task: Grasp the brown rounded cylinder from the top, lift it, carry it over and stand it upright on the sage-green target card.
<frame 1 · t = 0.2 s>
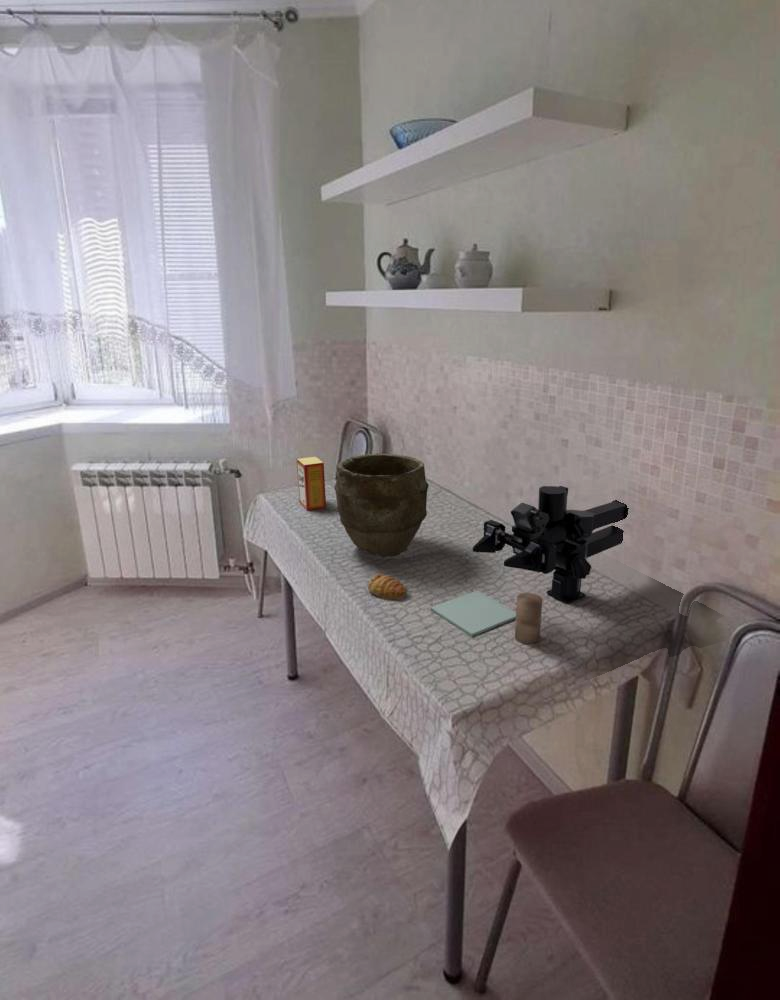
hand: (488, 556, 125), 17 cm above the table, tool horizontal, fingers open, 9 cm apart
target card: (474, 613, 137), on the table
pastry: (387, 593, 147), on the table
brown rounded cylinder: (527, 637, 127), on the table
clay pot: (383, 548, 173), on the table
baking soda box: (312, 505, 209), on the table
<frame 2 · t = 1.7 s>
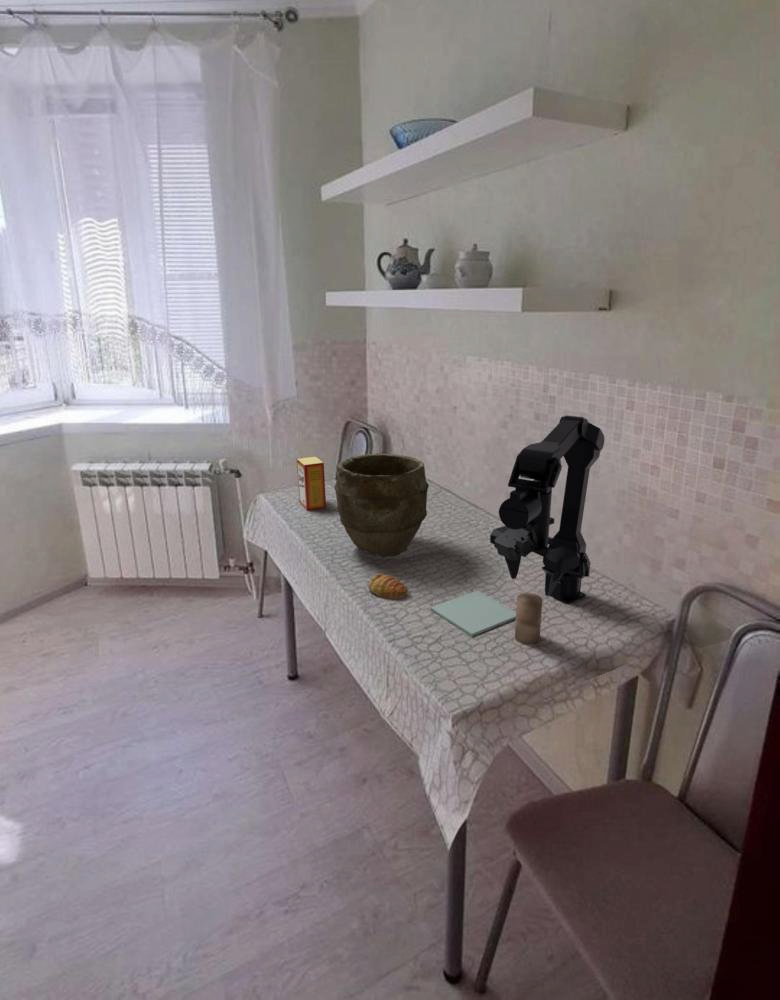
hand: (530, 586, 123), 12 cm above the table, tool pointing down, fingers open, 9 cm apart
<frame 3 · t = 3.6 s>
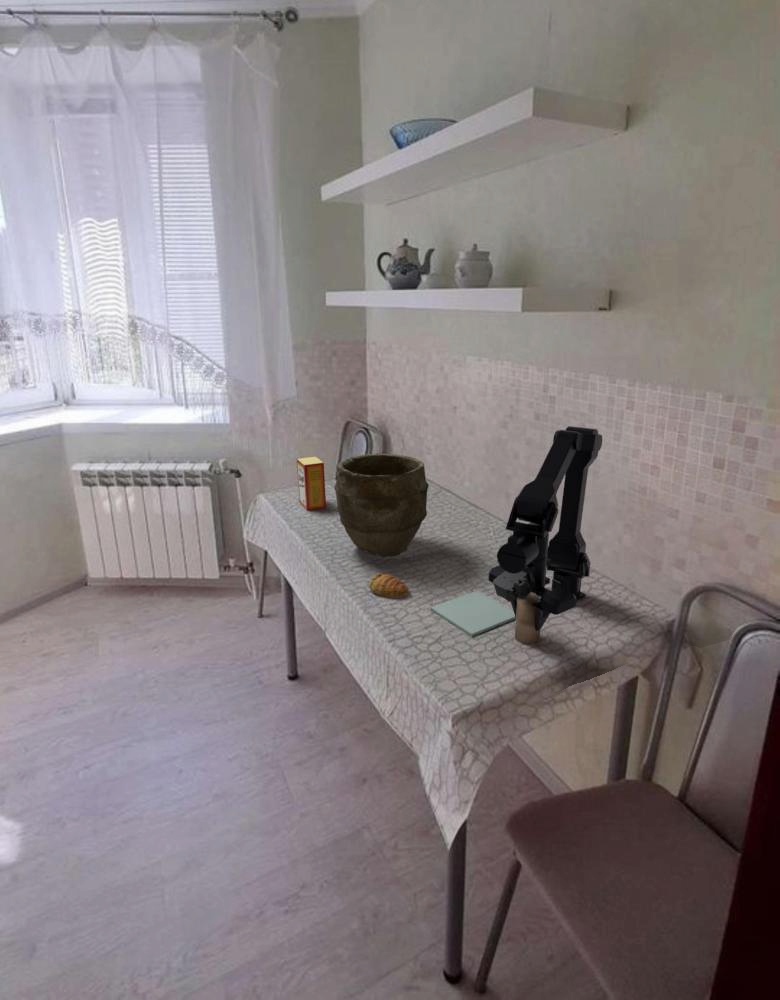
hand: (528, 624, 126), 3 cm above the table, tool pointing down, fingers closed on brown rounded cylinder, 5 cm apart
brown rounded cylinder: (527, 637, 127), on the table, touching gripper
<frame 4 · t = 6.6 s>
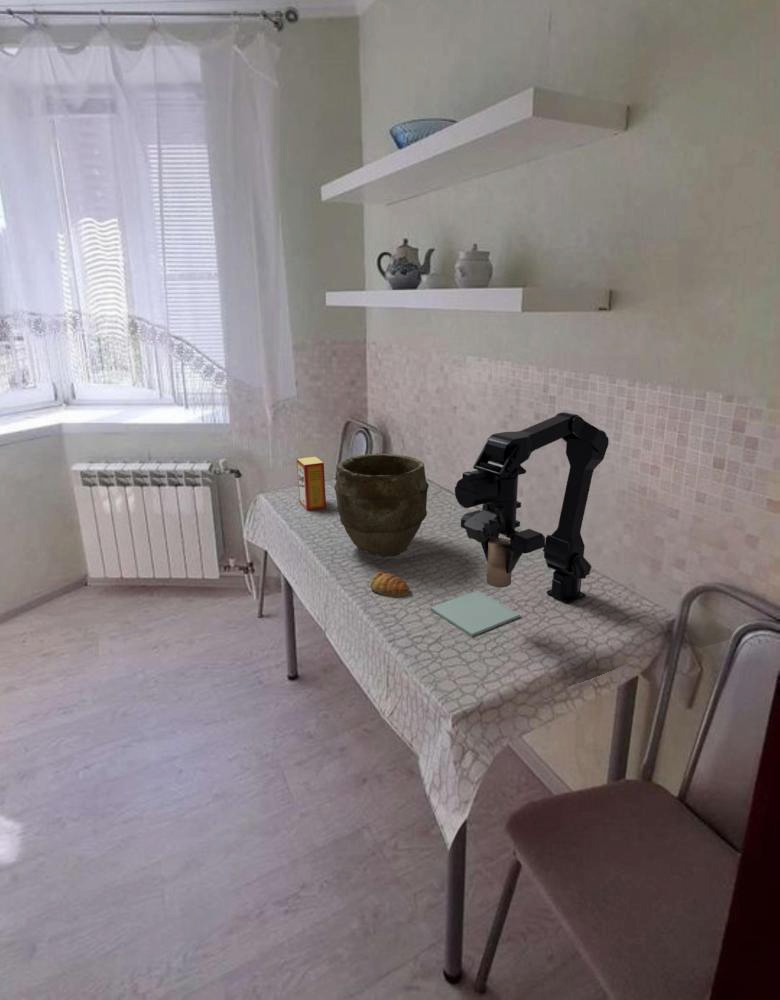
hand: (499, 568, 128), 13 cm above the table, tool pointing down, fingers closed on brown rounded cylinder, 5 cm apart
brown rounded cylinder: (498, 582, 129), point 10 cm above the table, touching gripper
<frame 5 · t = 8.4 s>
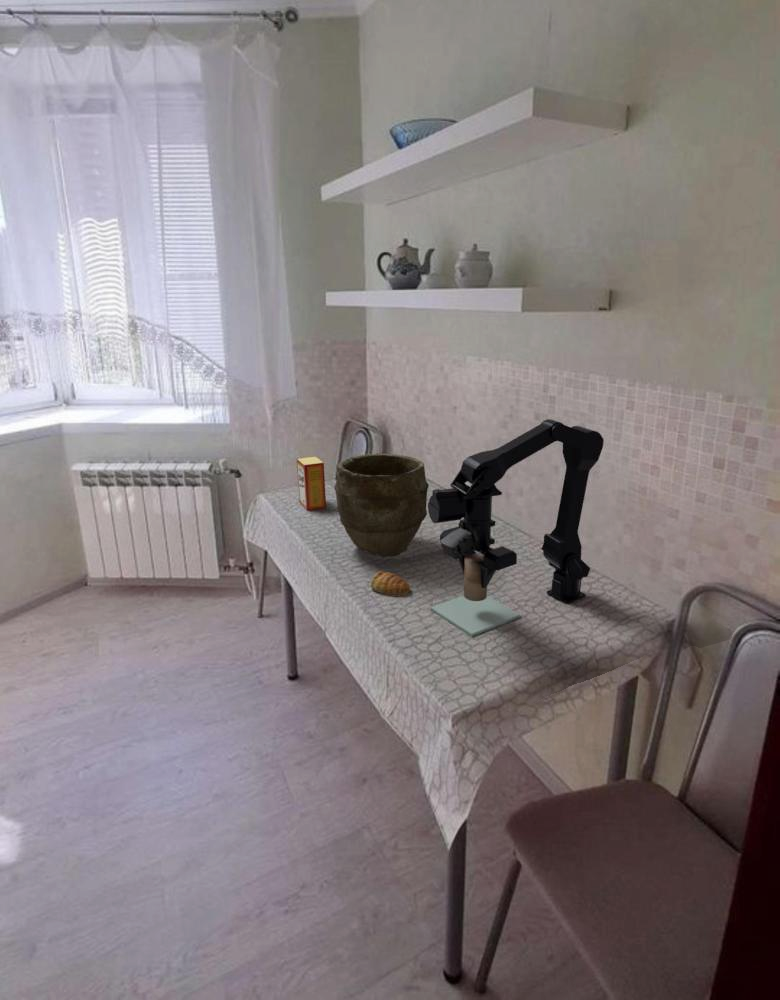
hand: (475, 583, 134), 7 cm above the table, tool pointing down, fingers closed on brown rounded cylinder, 5 cm apart
brown rounded cylinder: (475, 595, 135), point 4 cm above the table, touching gripper
when the fingers open (5 cm above the table, at t = 9.8 s): brown rounded cylinder drops 1 cm, resting on target card.
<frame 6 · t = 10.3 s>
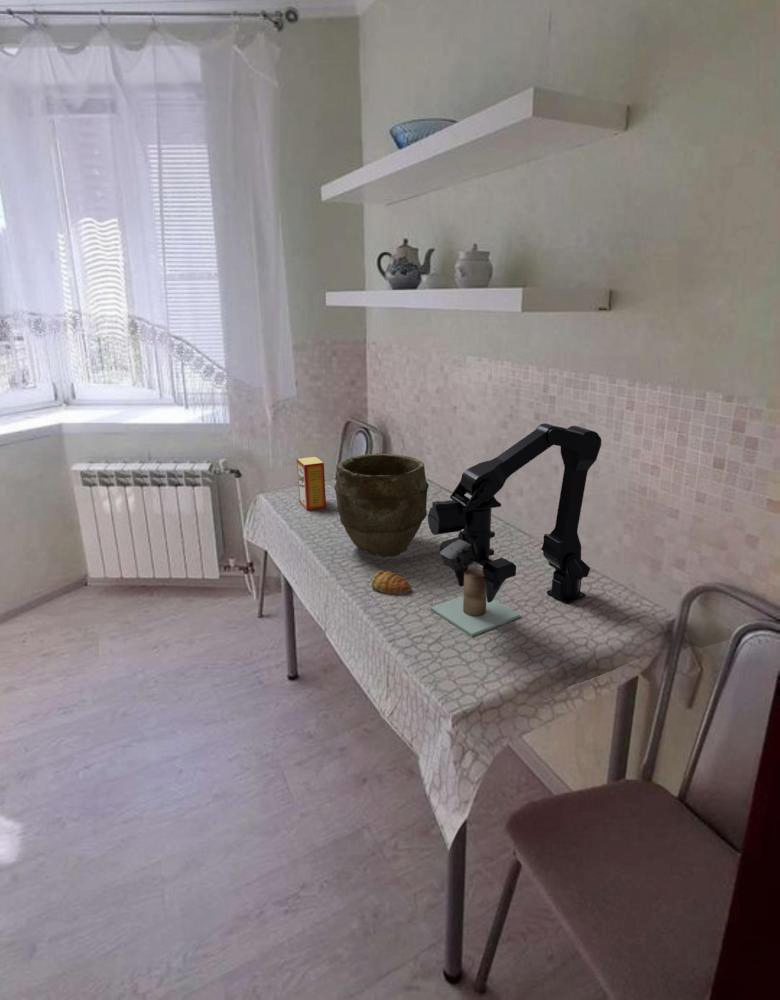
hand: (475, 593, 135), 5 cm above the table, tool pointing down, fingers open, 9 cm apart
brown rounded cylinder: (474, 610, 137), point 1 cm above the table, touching target card
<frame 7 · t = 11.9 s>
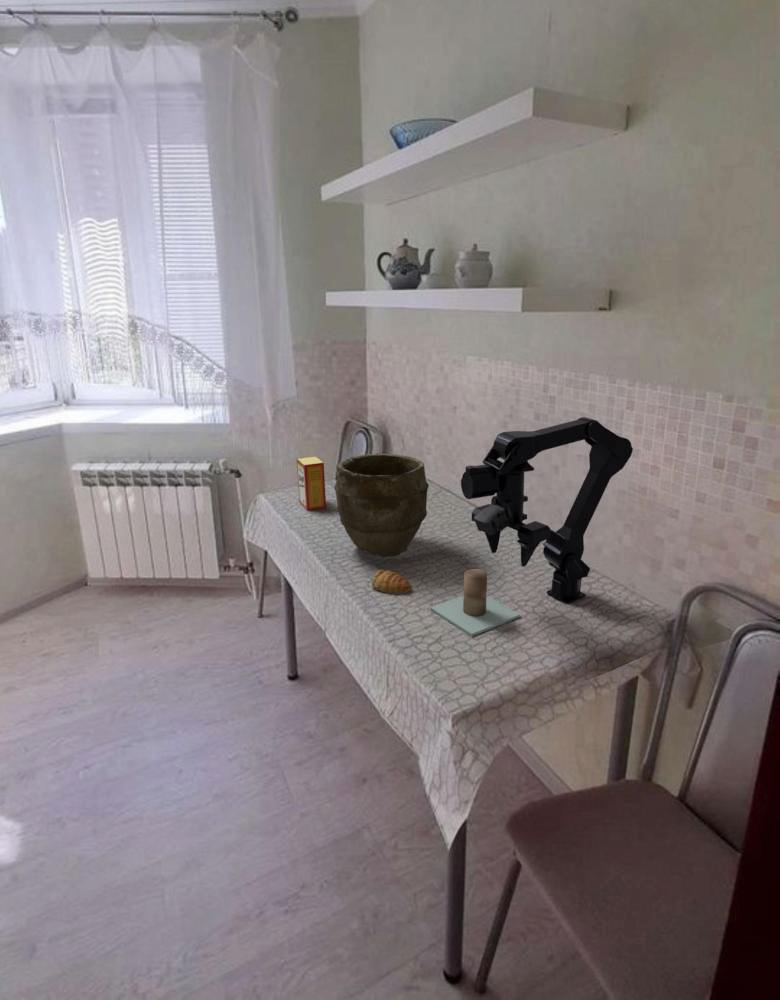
hand: (508, 559, 136), 12 cm above the table, tool pointing down, fingers open, 9 cm apart
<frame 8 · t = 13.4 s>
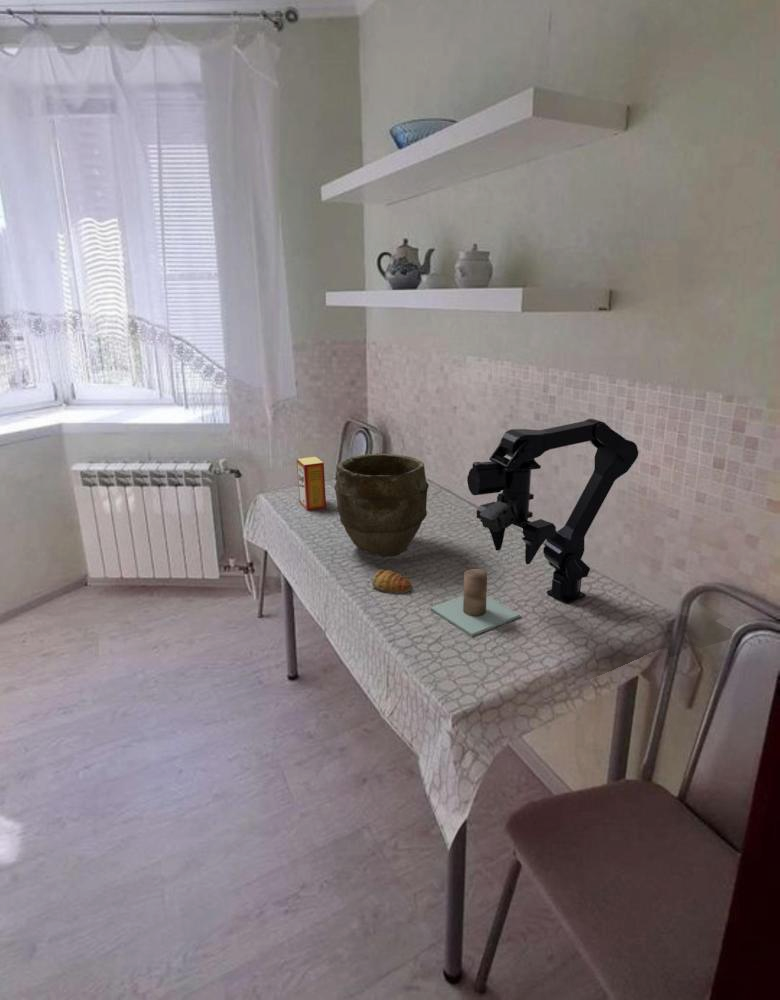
hand: (512, 556, 136), 12 cm above the table, tool pointing down, fingers open, 9 cm apart
at the end: brown rounded cylinder inside the target area on the target card (0.0 cm from its centre), point 0.6 cm above the target card's base; brown rounded cylinder tilted 0°; the gripper is holding nothing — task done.
